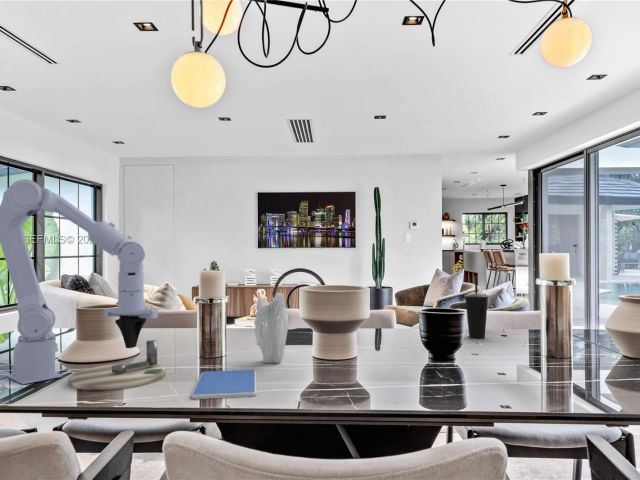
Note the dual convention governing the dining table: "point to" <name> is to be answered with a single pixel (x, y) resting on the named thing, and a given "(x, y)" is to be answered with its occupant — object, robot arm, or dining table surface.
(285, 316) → the white ribbed vase
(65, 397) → the dining table surface
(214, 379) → the tablet computer
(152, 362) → the lever
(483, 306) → the drinking cup
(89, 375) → the dial board
